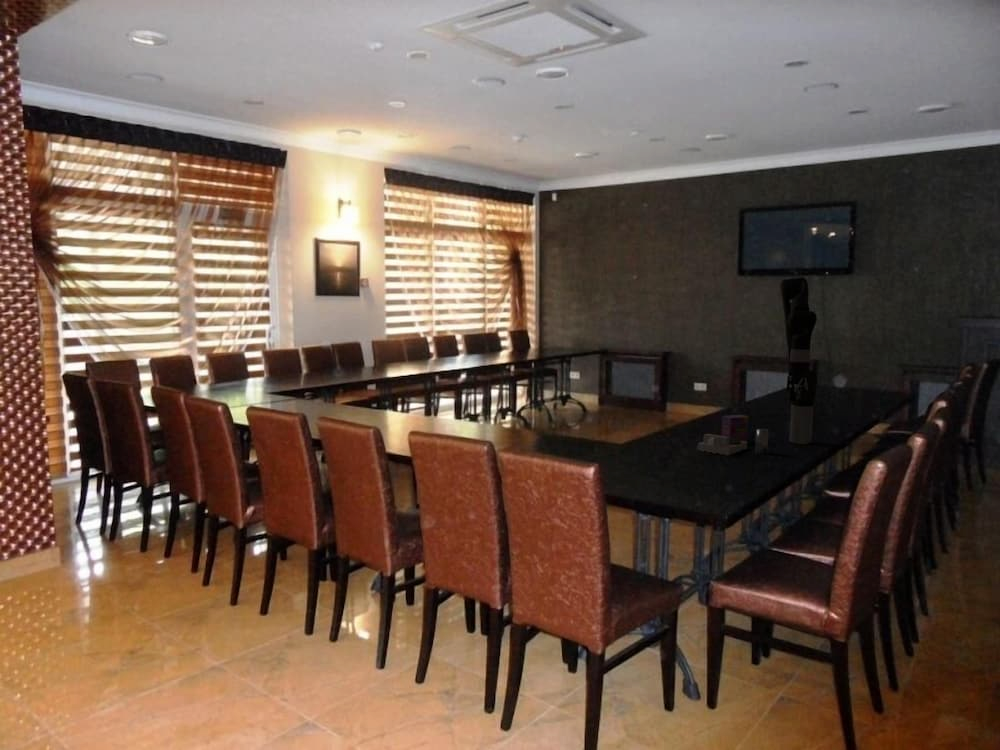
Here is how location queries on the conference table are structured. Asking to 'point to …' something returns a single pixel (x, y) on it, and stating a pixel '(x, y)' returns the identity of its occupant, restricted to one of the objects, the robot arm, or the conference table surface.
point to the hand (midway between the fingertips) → (798, 400)
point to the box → (735, 426)
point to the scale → (721, 444)
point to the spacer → (761, 441)
